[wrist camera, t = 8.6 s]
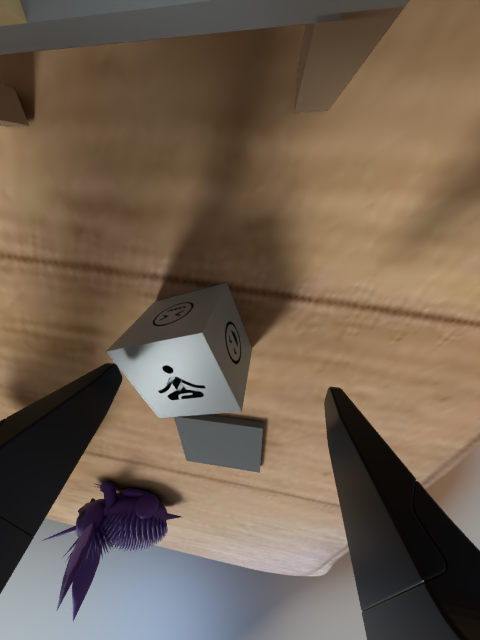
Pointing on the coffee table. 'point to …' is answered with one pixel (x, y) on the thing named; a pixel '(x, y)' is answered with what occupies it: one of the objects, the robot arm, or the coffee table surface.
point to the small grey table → (203, 18)
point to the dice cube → (187, 354)
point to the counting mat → (221, 441)
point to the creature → (110, 533)
